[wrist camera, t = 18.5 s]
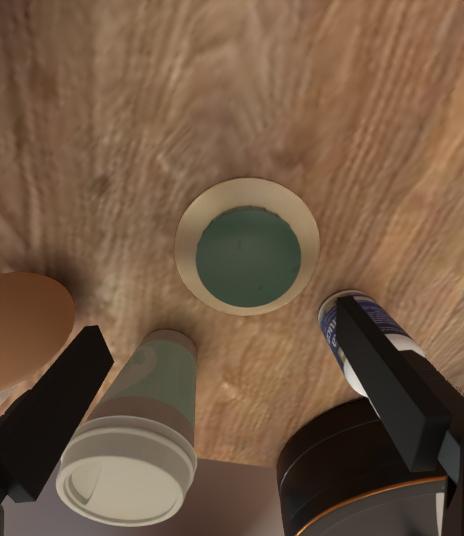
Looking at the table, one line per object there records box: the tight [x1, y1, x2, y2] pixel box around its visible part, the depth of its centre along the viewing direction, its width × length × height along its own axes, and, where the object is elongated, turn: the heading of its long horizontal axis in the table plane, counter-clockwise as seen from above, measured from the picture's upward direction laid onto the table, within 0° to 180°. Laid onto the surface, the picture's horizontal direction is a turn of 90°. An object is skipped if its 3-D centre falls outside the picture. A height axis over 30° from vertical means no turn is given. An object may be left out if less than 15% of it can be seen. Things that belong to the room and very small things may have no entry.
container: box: [277, 399, 447, 536], centre depth 29 cm, size 28×28×10 cm
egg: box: [0, 272, 75, 393], centre depth 18 cm, size 8×8×11 cm
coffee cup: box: [56, 330, 197, 526], centre depth 20 cm, size 9×8×12 cm
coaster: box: [174, 177, 320, 316], centre depth 21 cm, size 12×12×1 cm
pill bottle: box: [318, 290, 426, 418], centre depth 19 cm, size 5×5×10 cm
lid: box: [195, 205, 301, 308], centre depth 20 cm, size 8×8×2 cm
